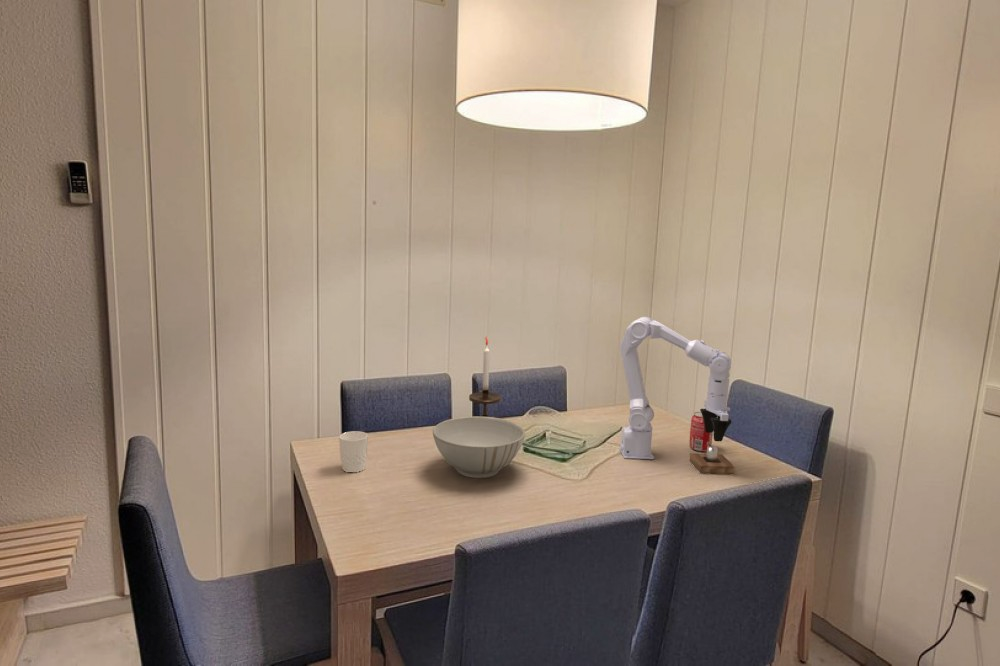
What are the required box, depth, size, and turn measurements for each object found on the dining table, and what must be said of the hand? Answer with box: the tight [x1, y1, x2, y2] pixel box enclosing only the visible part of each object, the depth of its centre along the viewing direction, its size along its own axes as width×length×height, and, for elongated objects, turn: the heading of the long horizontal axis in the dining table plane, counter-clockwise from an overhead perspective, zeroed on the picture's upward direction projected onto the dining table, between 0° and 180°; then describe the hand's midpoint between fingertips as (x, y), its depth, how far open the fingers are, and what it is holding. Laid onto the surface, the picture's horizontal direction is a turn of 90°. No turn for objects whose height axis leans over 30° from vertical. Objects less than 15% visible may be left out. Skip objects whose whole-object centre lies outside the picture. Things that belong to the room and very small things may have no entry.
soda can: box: [688, 411, 714, 452], centre depth 194 cm, size 7×7×12 cm
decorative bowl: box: [432, 415, 526, 479], centre depth 171 cm, size 27×27×12 cm
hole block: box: [688, 452, 735, 475], centre depth 179 cm, size 10×10×2 cm
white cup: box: [339, 430, 368, 473], centre depth 169 cm, size 8×8×10 cm
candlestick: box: [468, 335, 502, 417], centre depth 197 cm, size 11×11×35 cm
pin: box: [706, 445, 718, 463], centre depth 179 cm, size 3×3×6 cm
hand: (713, 436), depth 178 cm, fingers open, 7 cm apart
